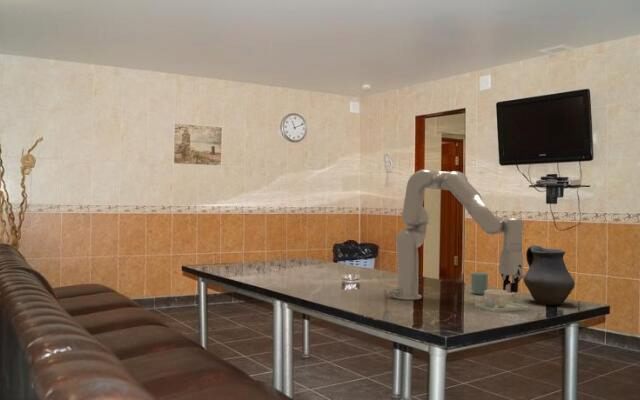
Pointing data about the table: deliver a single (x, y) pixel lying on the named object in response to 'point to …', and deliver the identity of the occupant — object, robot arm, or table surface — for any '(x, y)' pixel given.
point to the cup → (479, 282)
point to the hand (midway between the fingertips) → (510, 290)
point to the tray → (508, 307)
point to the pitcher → (547, 276)
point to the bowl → (499, 295)
